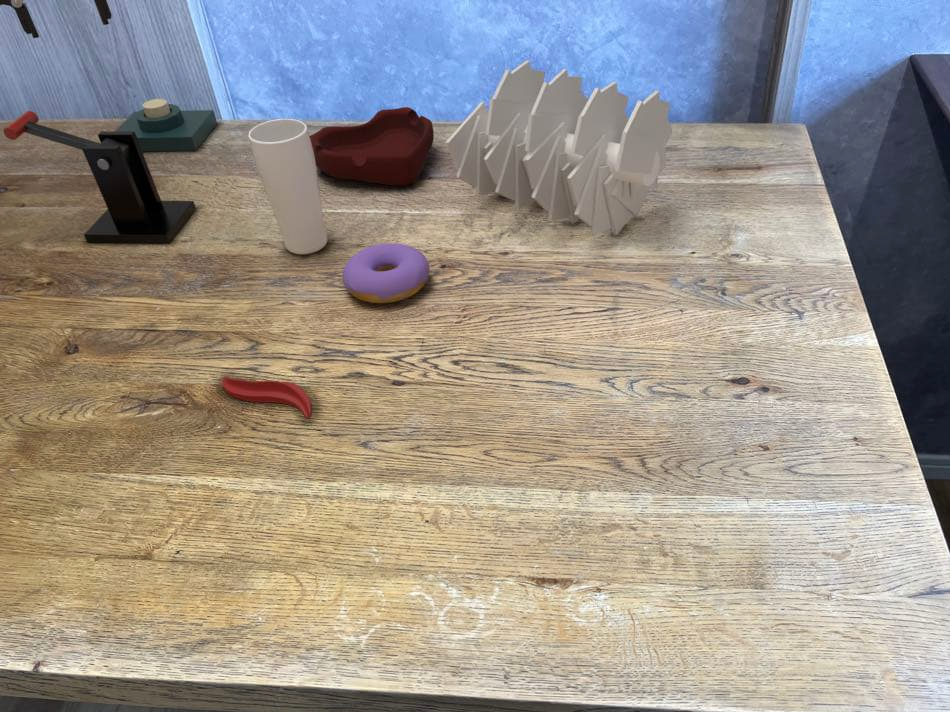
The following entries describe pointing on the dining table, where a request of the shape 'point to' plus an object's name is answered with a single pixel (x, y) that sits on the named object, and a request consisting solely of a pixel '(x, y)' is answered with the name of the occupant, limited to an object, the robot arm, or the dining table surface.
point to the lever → (55, 134)
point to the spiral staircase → (564, 148)
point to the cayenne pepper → (268, 392)
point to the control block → (171, 129)
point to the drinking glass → (290, 182)
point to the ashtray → (376, 148)
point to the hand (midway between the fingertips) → (71, 29)
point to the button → (156, 108)
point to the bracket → (131, 196)
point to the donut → (386, 273)
